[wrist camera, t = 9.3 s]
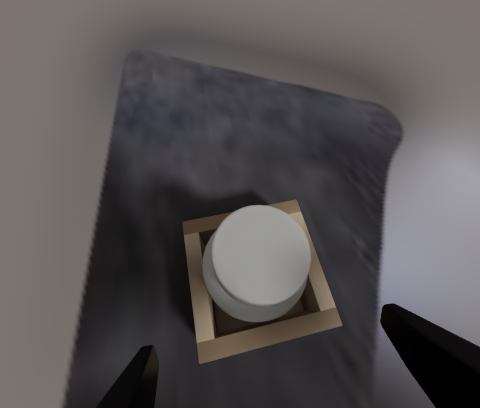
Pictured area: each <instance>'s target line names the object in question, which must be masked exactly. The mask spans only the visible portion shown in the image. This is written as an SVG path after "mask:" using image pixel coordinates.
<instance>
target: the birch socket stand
mask: <svg viewBox="0 0 480 408" xmlns="http://www.w3.org/2000/svg"><path fill="white" fill-rule="evenodd" d="M266 206H271V207H274V208H277V209H280V210H282V211H284V212H286V213H287V214H288V215H290V216H291V217H292V218H293V219H295V220H296V221H297V222H298V224H299V225H300V226H301V227H302V229H303V231H304V232H305V234H306V237H307V239H308V242H309V246H310V251H311V264H310V270H309V273H308V278H307V282H306V286H305V289H304V291H303V293H302V295H301V297H300V299H299V300H298V301H297V303H296V304H295V305H294V306H293V307H292V308H291V309H290V310H289V311H288V312H286V313H285V314H284V315H282V316H280V317H278V318H276V319H273V320H269V321H265V322H247V321H242V320H239V319H236V318H234V317H232V316H230V315H229V314H227V313H226V312H224V311H223V310H222V309H221V308H220V307H219V306H218V305H217V304H216V303H215V302H214V300H213V299H212V297H211V295H210V294H209V292H208V290H207V288H206V285H205V281H204V277H203V267H202V263H203V256H204V252H205V248H206V246H207V243H208V241H209V240H210V238H211V236H212V235H213V234H214V232H215V231H216V230H217V228H218V227H219V225H220V224H221V223H222V221H223V220H224V219H225V218H226V217H227V216H228V215H230V214H231V213H233V212H230V213H225V214H220V215H214V216H209V217H204V218H199V219H194V220H189V221H184V222H182V224H183V232H184V240H185V248H186V257H187V265H188V273H189V282H190V290H191V298H192V306H193V315H194V323H195V331H196V339H197V348H198V356H199V364H202V363H205V362H209V361H213V360H216V359H220V358H224V357H228V356H231V355H235V354H239V353H242V352H246V351H250V350H253V349H257V348H261V347H265V346H268V345H272V344H276V343H279V342H283V341H287V340H291V339H294V338H298V337H302V336H305V335H309V334H313V333H316V332H320V331H324V330H328V329H331V328H335V327H339V326H342V322H341V320H340V317H339V314H338V311H337V309H336V306H335V303H334V301H333V298H332V295H331V292H330V290H329V287H328V284H327V281H326V279H325V276H324V273H323V271H322V268H321V265H320V262H319V260H318V257H317V254H316V252H315V249H314V246H313V243H312V241H311V238H310V235H309V233H308V230H307V227H306V224H305V222H304V219H303V216H302V213H301V211H300V208H299V205H298V203H297V200H292V201H287V202H281V203H276V204H271V205H266Z"/></svg>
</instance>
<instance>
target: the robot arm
mask: <svg viewBox="0 0 480 408" xmlns="http://www.w3.org/2000/svg"><path fill="white" fill-rule="evenodd" d="M380 322H381V325H382V327H383V329H384V330H385V332H386V334H387V336H388V337H389V339H390V341H391V342H392V344H393V345H394V347H395V349H396V350H397V352H398V353H399V355H400V357H401V359H402V360H403V362H404V363H405V365H406V366H407V368H408V369H409V371H410V372H411V374H412V375H413V377H414V378H415V379H416V381H417V382H418V384H419V385H420V386H421V388H422V389H423V390H424V392H425V393H426V394H427V396H428V397H429V399H430V400H431V402H432V403H433V404H434V406H435V407H436V408H480V347H479V346H477V345H475V344H473V343H471V342H469V341H467V340H465V339H463V338H461V337H459V336H457V335H455V334H453V333H451V332H449V331H447V330H445V329H443V328H442V327H440V326H438V325H435V324H433V323H431V322H430V321H428V320H426V319H424V318H422V317H420V316H418V315H416V314H414V313H412V312H410V311H408V310H406V309H404V308H402V307H400V306H398V305H396V304H386V305H384V306H383V307H382V312H381V319H380ZM158 370H159V361H158V357H157V353H156V350H155V347H154V346H153V345H149V346H144V347H142V348H141V349H140V350H139V351H138V352H137V354H136V355H135V356H134V358H133V359H132V360H131V362H130V363H129V364H128V366H127V367H126V368H125V370H124V371H123V372H122V374H121V375H120V376H119V377H118V379H117V380H116V381H115V383H114V384H113V385H112V387H111V388H110V389H109V391H108V392H107V393H106V395H105V396H104V397H103V399H102V400H101V401H100V403H99V404H98V405H97V406H96V408H154V405H155V396H156V387H157V379H158Z"/></svg>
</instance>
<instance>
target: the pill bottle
mask: <svg viewBox="0 0 480 408" xmlns="http://www.w3.org/2000/svg"><path fill="white" fill-rule="evenodd" d="M310 264H311V251H310V246H309V242H308V239H307V237H306V234H305V232H304V231H303V229H302V227H301V226H300V225H299V224H298V222H297V221H296V220H295V219H293V218H292V217H291V216H290V215H288V214H287V213H286V212H284V211H282V210H280V209H277V208H274V207H271V206H266V205H251V206H247V207H243V208H240V209H238V210H236V211H235V212H233V213H231V214H230V215H228V216H227V217H226V218H225V219H224V220H223V221H222V223H221V224H220V225H219V227H218V228H217V230H216V231H215V232H214V234H213V235H212V236H211V238H210V240H209V241H208V243H207V246H206V248H205V252H204V256H203V263H202V267H203V277H204V281H205V285H206V288H207V290H208V292H209V294H210V295H211V297H212V299H213V300H214V302H215V303H216V304H217V305H218V306H219V307H220V308H221V309H222V310H223V311H224V312H226V313H227V314H229V315H230V316H232V317H234V318H236V319H239V320H242V321H247V322H265V321H269V320H273V319H276V318H278V317H280V316H282V315H284V314H285V313H286V312H288V311H289V310H290V309H291V308H292V307H293V306H294V305H295V304H296V303H297V301H298V300H299V299H300V297H301V295H302V293H303V291H304V289H305V286H306V282H307V278H308V273H309V270H310Z"/></svg>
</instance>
